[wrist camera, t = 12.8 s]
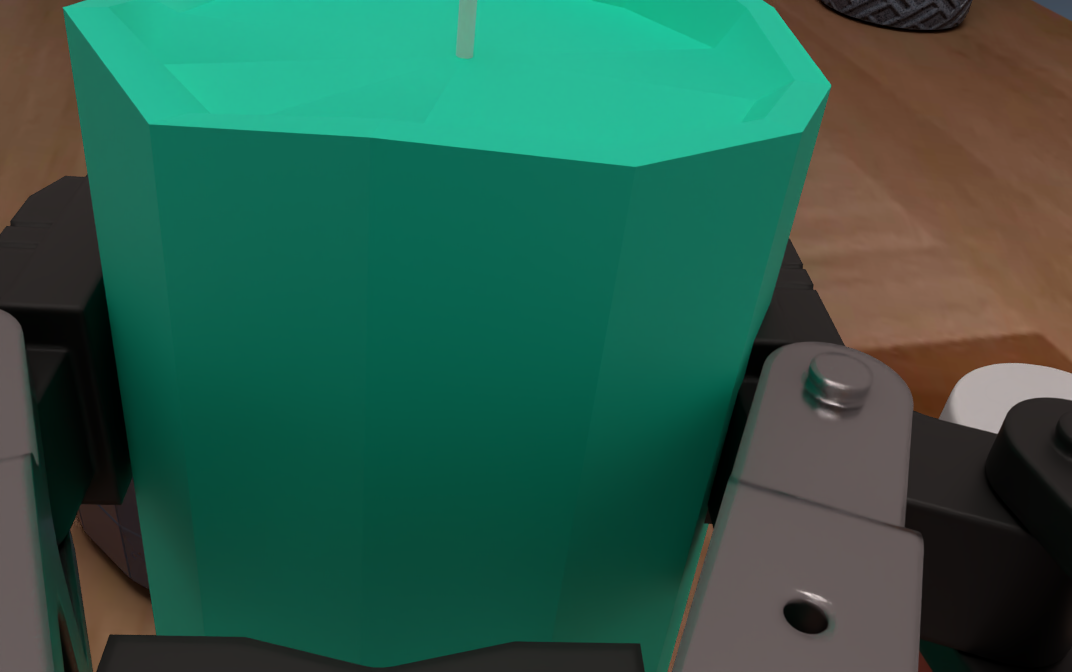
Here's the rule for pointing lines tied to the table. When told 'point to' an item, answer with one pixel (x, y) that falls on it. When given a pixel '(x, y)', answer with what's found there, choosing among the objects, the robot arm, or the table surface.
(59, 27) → the table surface
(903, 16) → the vase
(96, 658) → the table surface
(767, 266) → the candle
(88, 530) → the bowl
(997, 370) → the pill bottle
